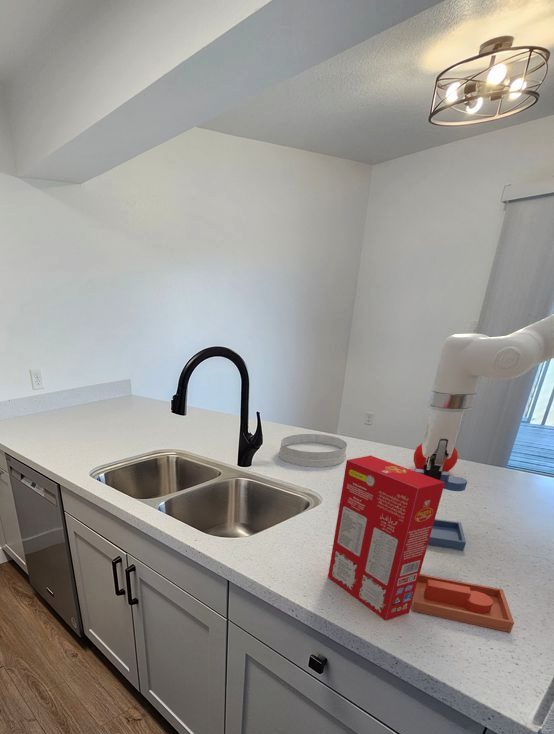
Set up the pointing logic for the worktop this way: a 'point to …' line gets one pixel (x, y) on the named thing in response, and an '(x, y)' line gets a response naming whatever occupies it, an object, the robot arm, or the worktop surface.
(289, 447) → the light grey ring
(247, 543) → the worktop surface
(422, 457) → the tomato
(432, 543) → the slate tray
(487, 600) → the terracotta spoon
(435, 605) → the terracotta tray
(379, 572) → the food packaging
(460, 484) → the slate spoon
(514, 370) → the robot arm
